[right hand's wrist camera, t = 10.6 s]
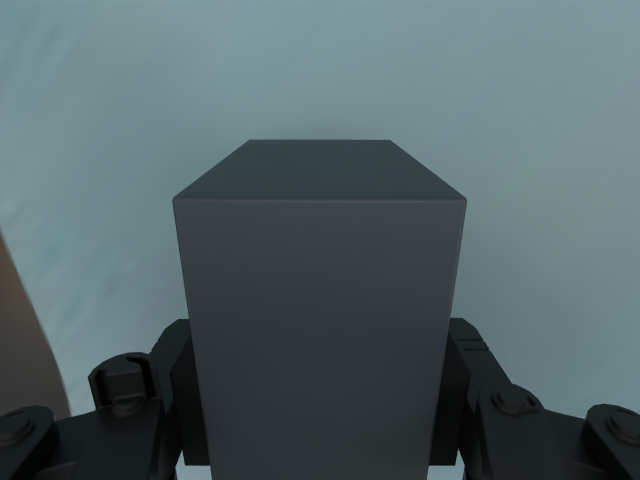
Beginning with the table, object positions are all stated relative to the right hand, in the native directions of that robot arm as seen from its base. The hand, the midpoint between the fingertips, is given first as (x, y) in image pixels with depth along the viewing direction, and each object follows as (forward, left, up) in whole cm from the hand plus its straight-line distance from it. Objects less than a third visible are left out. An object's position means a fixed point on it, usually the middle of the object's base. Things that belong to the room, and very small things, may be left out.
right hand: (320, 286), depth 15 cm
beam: (+30, +6, -1) cm, 30 cm away
